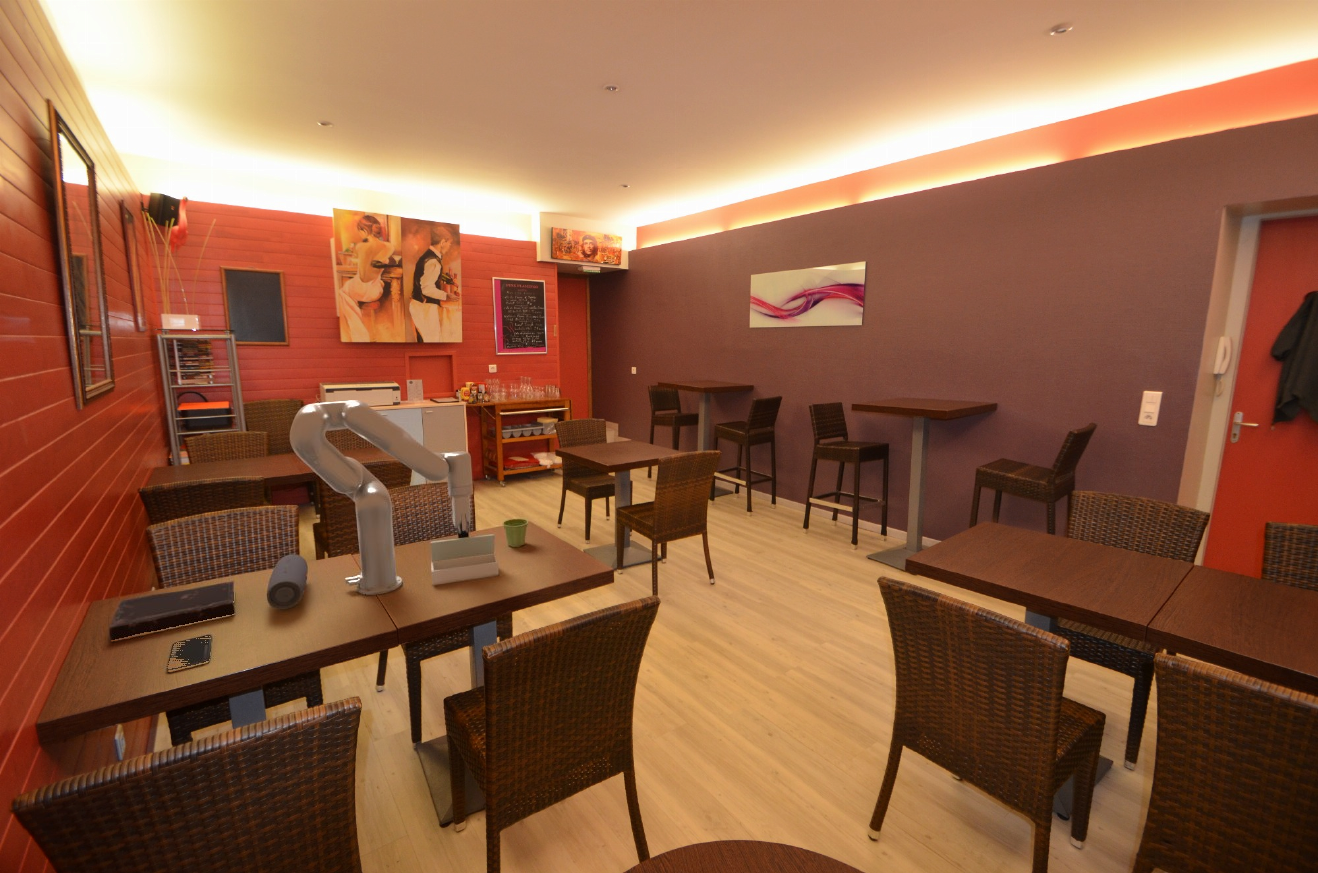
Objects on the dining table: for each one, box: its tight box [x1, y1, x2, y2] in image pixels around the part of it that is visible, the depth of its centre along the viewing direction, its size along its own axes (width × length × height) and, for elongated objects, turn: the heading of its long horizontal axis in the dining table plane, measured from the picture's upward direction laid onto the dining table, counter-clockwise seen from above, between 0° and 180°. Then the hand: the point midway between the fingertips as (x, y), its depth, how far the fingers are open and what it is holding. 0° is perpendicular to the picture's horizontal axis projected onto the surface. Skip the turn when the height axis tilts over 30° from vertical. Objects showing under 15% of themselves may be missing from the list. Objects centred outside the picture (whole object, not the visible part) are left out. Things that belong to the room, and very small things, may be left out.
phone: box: [166, 634, 213, 671], centre depth 138 cm, size 8×1×15 cm
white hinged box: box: [430, 553, 500, 586], centre depth 184 cm, size 20×8×4 cm, turn 113°
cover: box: [430, 533, 495, 562], centre depth 186 cm, size 20×8×1 cm
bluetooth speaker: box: [266, 553, 309, 610], centre depth 168 cm, size 23×9×10 cm, turn 28°
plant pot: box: [502, 518, 529, 548], centre depth 213 cm, size 9×9×9 cm
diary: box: [108, 580, 236, 641], centre depth 157 cm, size 19×25×5 cm
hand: (463, 543), depth 187 cm, fingers closed
